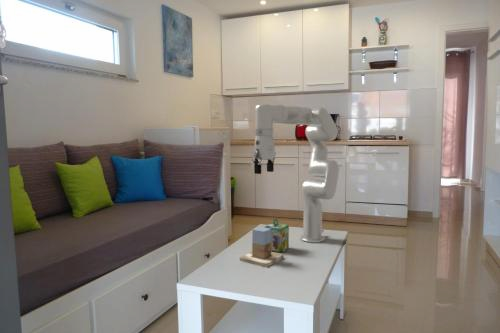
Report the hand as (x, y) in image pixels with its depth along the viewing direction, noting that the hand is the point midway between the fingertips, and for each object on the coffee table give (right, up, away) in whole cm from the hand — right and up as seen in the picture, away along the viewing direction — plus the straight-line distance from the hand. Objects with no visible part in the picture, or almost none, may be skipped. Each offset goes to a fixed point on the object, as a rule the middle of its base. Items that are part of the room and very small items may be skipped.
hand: (264, 172), depth 161 cm
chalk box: (+7, -37, +16) cm, 41 cm away
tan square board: (-1, -38, +2) cm, 38 cm away
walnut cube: (-1, -37, +2) cm, 37 cm away
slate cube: (-1, -31, +1) cm, 31 cm away
